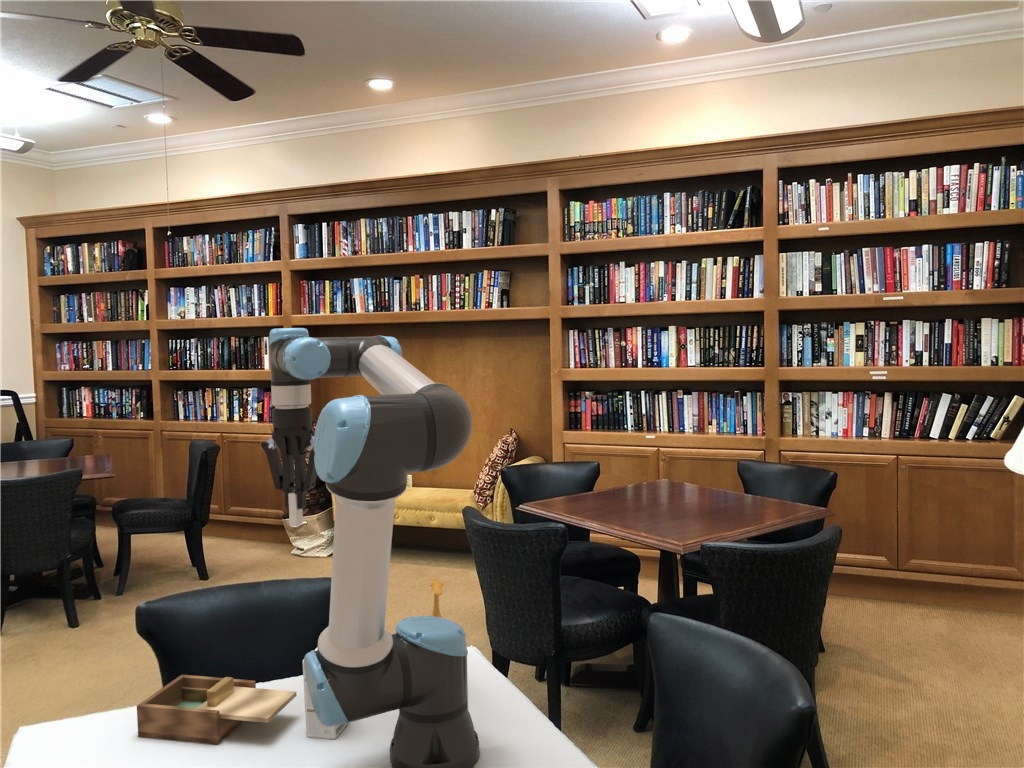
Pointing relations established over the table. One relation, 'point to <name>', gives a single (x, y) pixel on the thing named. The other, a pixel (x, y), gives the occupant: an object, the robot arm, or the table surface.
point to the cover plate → (246, 701)
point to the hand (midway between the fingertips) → (296, 524)
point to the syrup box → (312, 722)
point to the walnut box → (186, 712)
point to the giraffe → (436, 596)
